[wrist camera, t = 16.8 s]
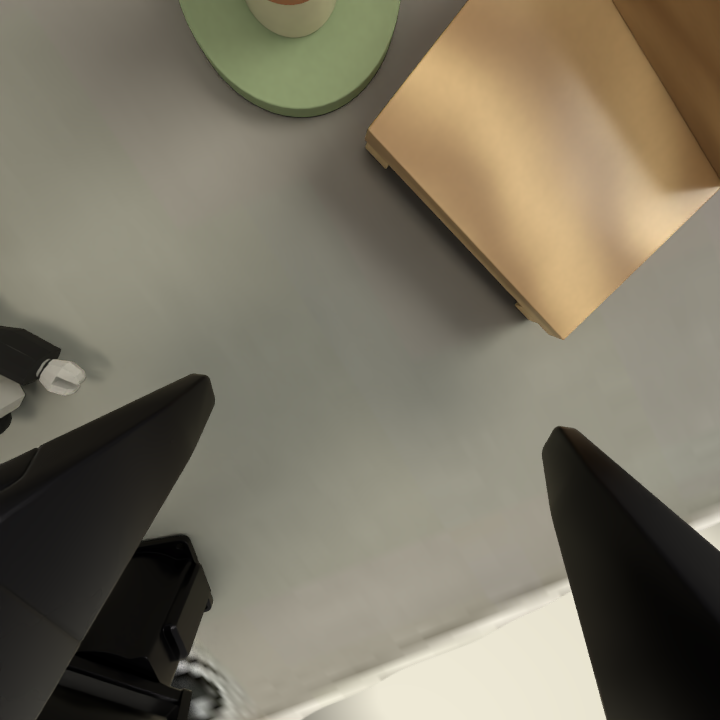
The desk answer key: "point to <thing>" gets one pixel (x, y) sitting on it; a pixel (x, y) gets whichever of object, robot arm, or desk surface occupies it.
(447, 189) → the shelf
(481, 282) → the desk surface
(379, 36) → the disc
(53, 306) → the desk surface
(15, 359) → the robot toy
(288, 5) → the spice bottle
